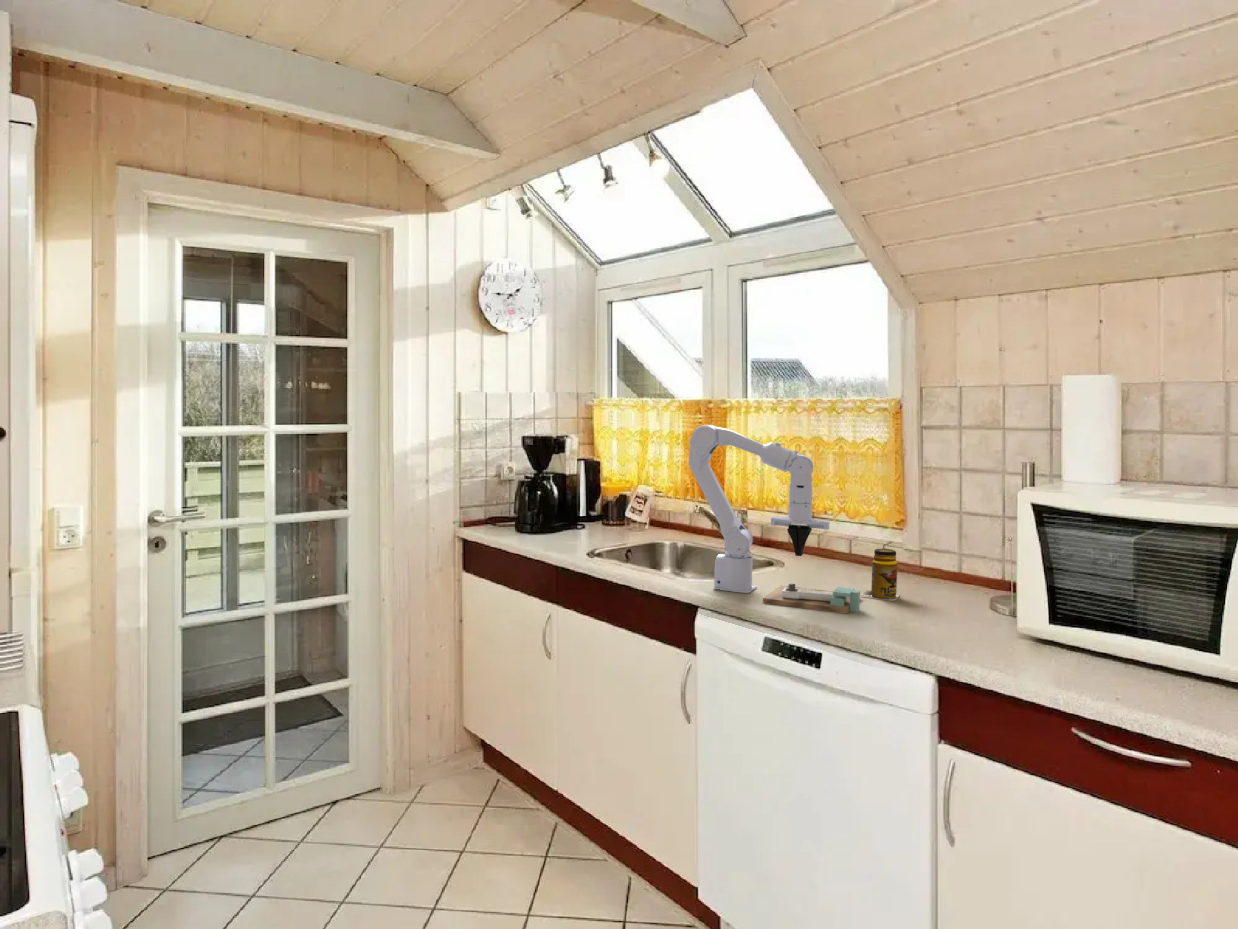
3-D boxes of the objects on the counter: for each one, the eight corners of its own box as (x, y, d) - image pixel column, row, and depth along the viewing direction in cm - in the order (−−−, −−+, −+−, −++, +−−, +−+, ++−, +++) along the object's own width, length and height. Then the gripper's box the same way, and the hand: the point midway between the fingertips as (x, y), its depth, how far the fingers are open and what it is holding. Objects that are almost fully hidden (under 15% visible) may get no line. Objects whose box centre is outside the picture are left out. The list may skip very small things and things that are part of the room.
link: (782, 597, 190) (782, 590, 190) (784, 593, 194) (784, 587, 194) (846, 603, 185) (846, 596, 185) (847, 599, 189) (847, 593, 189)
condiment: (894, 601, 194) (896, 553, 193) (859, 597, 198) (861, 550, 197) (900, 595, 200) (901, 549, 199) (866, 591, 204) (867, 545, 203)
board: (762, 602, 190) (763, 584, 190) (780, 589, 205) (781, 572, 204) (846, 613, 181) (847, 594, 181) (859, 599, 196) (860, 581, 195)
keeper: (830, 610, 184) (830, 591, 184) (835, 604, 189) (836, 586, 189) (856, 613, 181) (856, 594, 181) (860, 608, 187) (861, 589, 186)
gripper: (767, 502, 199) (766, 555, 200) (825, 505, 192) (824, 560, 193) (775, 499, 205) (774, 550, 206) (831, 503, 198) (830, 556, 199)
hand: (798, 555), depth 200 cm, fingers closed
